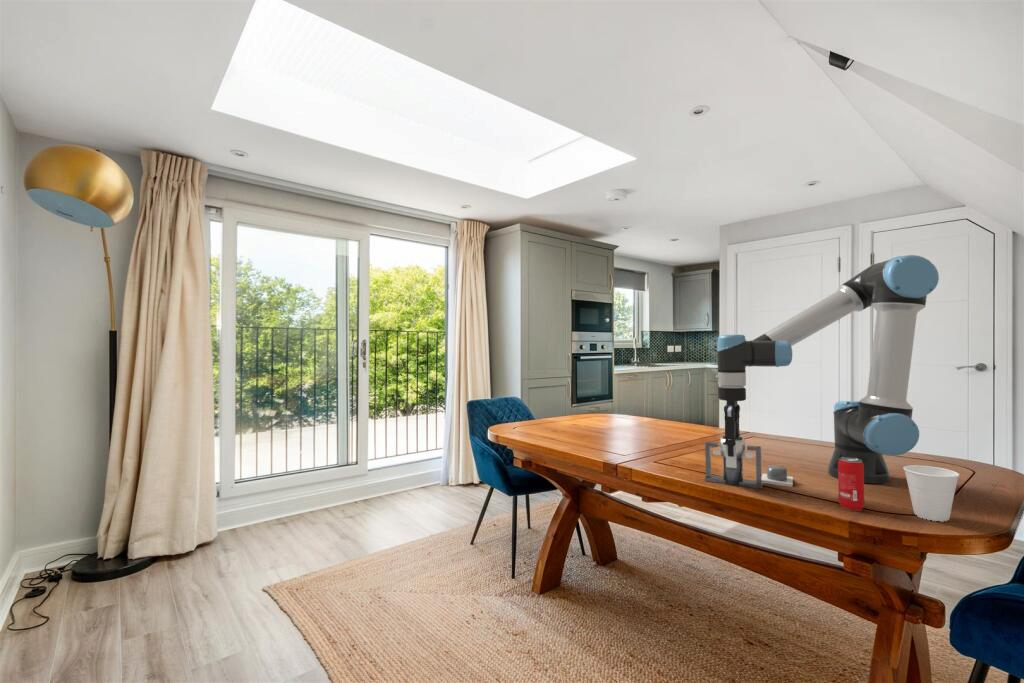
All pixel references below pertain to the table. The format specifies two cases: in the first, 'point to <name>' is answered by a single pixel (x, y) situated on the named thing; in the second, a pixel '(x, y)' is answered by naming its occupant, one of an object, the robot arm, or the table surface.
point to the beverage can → (851, 483)
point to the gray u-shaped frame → (733, 469)
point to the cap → (739, 448)
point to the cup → (931, 491)
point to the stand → (777, 476)
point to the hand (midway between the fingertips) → (732, 464)
